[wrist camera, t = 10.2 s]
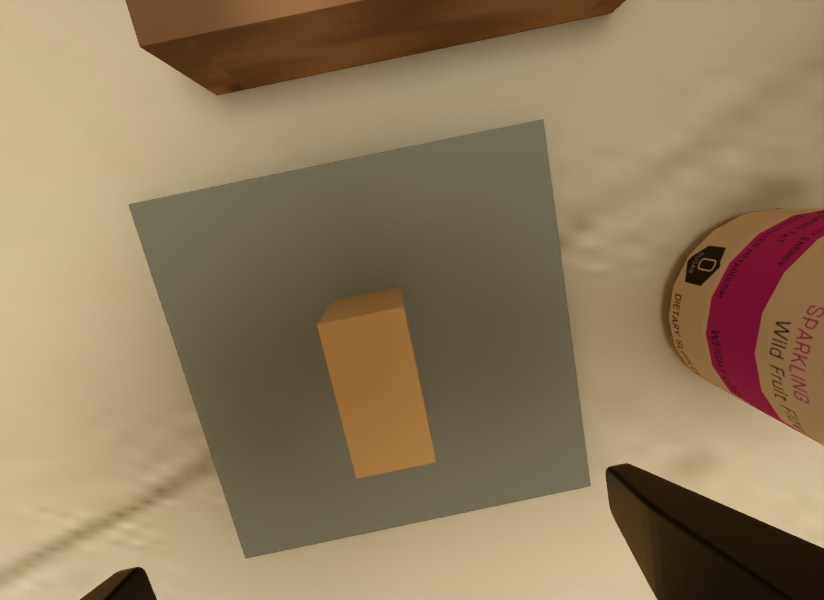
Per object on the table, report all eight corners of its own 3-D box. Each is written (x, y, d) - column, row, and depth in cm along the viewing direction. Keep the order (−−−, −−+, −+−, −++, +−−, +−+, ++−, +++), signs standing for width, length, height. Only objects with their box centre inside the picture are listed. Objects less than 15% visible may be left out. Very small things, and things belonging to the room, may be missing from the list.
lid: (533, 124, 19) (586, 94, 14) (580, 471, 23) (635, 548, 18) (144, 204, 19) (54, 203, 14) (253, 540, 23) (213, 637, 17)
